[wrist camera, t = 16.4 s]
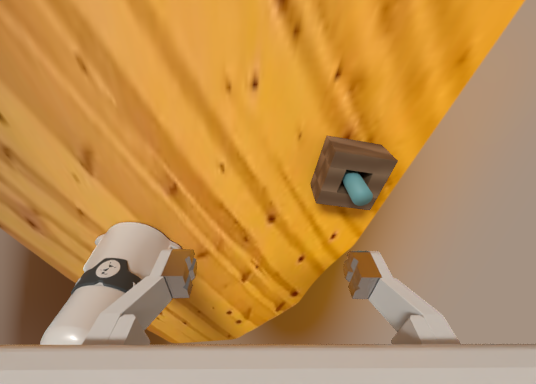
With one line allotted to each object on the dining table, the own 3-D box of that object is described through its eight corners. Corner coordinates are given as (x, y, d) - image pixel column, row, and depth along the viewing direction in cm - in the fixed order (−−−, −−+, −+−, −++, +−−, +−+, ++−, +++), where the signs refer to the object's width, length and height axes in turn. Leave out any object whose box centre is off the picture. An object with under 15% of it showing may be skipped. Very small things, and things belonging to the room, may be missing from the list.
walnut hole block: (358, 190, 46) (369, 210, 41) (310, 184, 44) (316, 203, 40) (381, 144, 40) (397, 160, 35) (326, 135, 39) (335, 151, 34)
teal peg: (348, 173, 43) (368, 206, 35) (333, 171, 43) (349, 204, 35) (354, 159, 41) (376, 190, 33) (338, 157, 41) (356, 188, 33)
